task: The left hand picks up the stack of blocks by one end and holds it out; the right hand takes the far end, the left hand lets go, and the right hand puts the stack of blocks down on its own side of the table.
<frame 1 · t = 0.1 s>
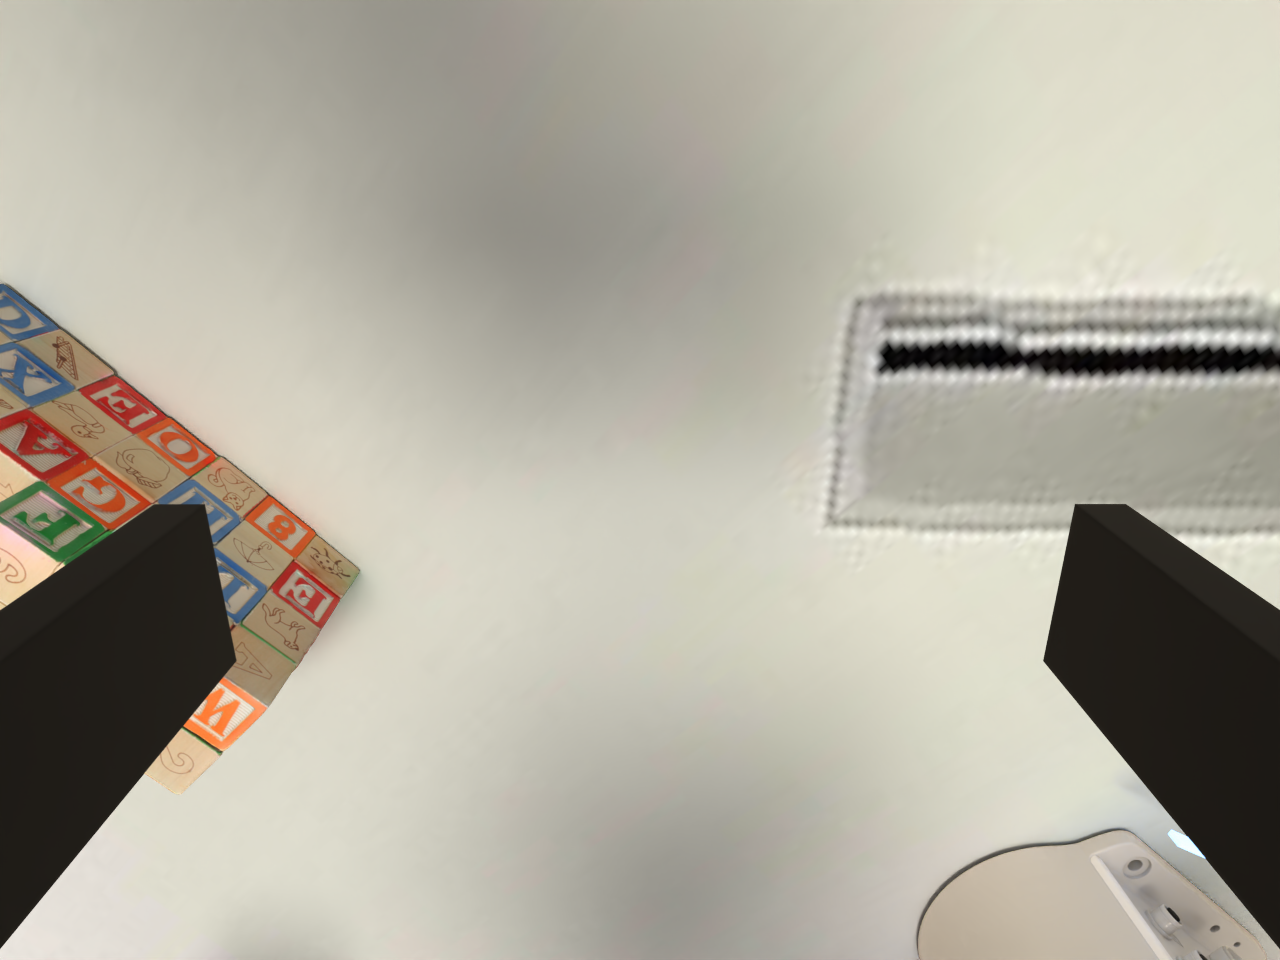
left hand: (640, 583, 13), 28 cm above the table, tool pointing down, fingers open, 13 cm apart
stack of blocks: (161, 475, 42), on the table
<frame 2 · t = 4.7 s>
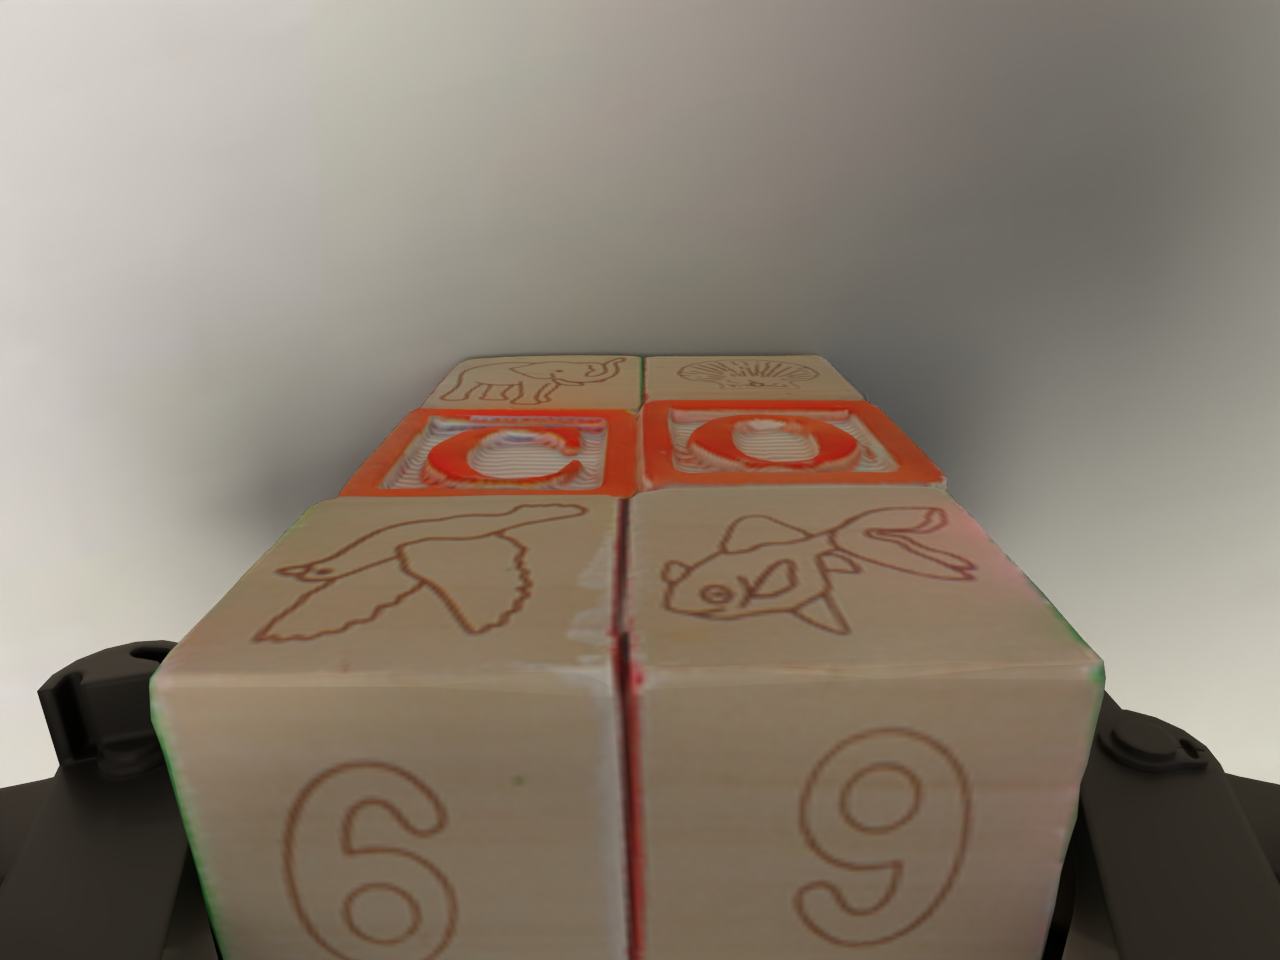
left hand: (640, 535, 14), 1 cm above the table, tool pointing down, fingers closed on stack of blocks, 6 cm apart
stack of blocks: (641, 846, 17), on the table, touching left hand
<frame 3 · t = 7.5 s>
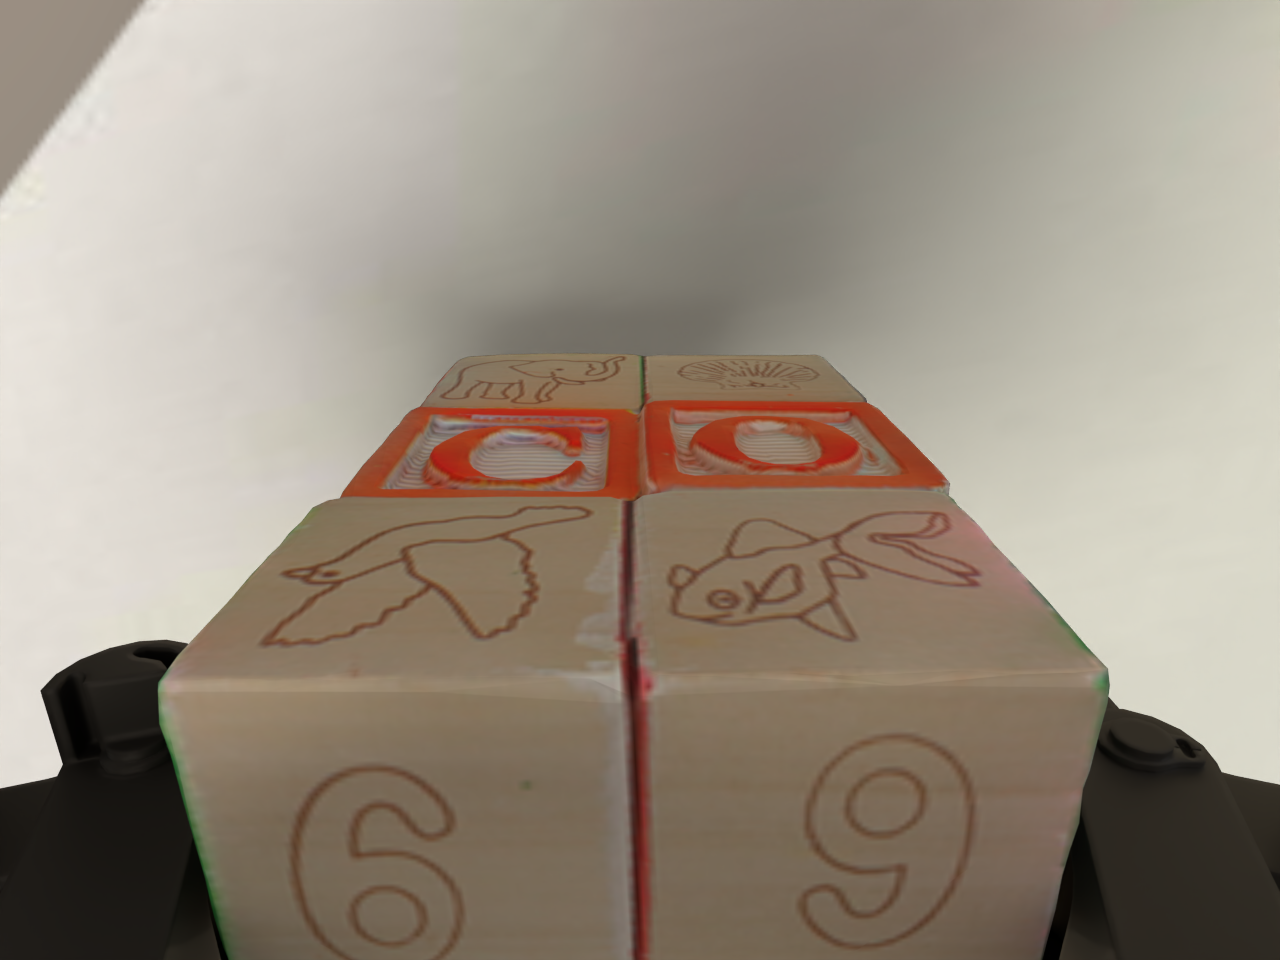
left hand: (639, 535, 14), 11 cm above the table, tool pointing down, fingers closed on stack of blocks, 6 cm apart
stack of blocks: (636, 842, 18), point 11 cm above the table, touching left hand
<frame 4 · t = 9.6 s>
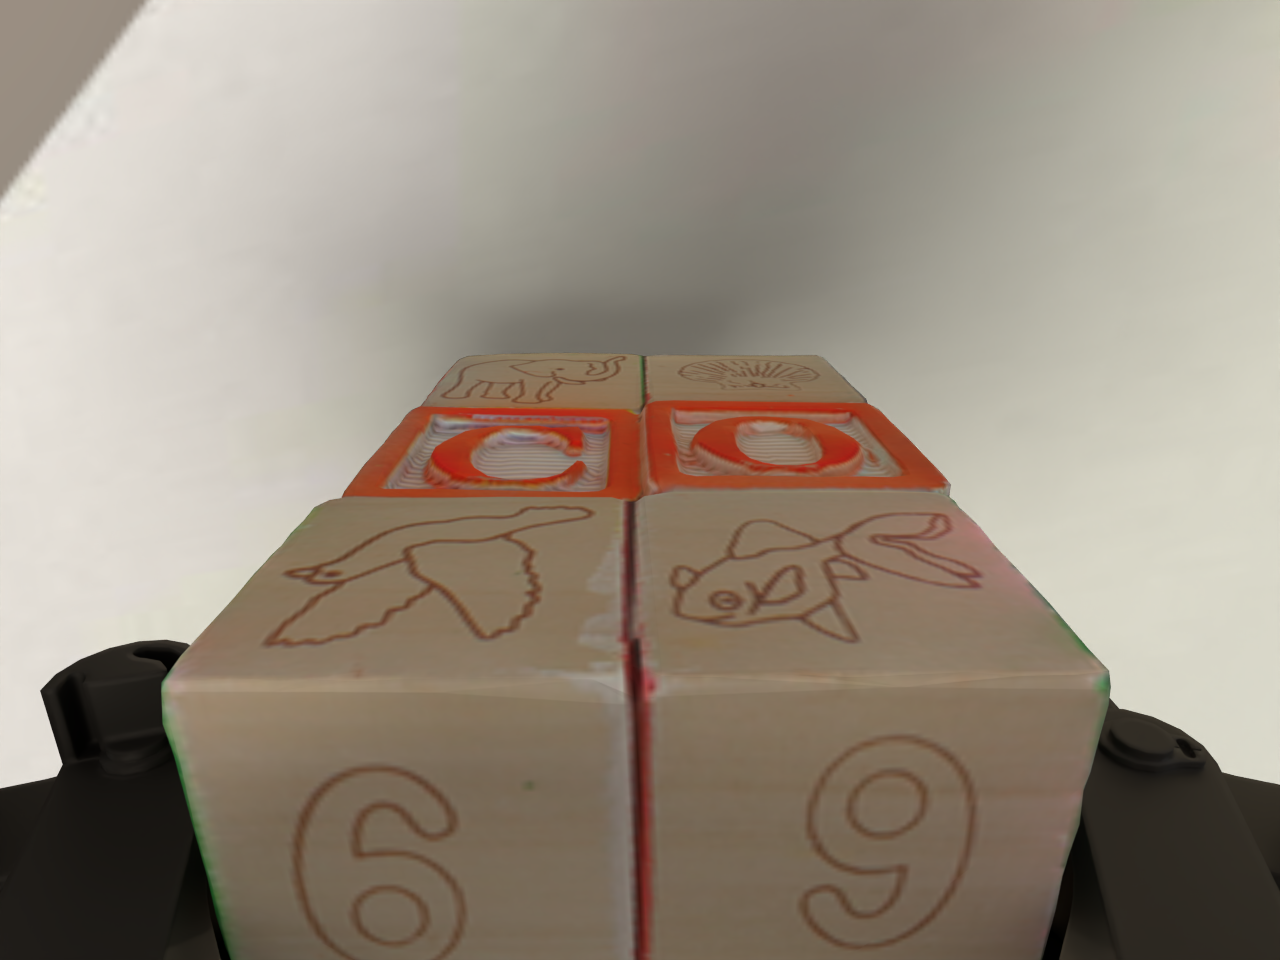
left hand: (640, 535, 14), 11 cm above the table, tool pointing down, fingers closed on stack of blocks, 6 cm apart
stack of blocks: (635, 841, 18), point 11 cm above the table, touching left hand, right hand
when the left hand's fingers open (11 cm above the table, at t = 10.6 s): stack of blocks stays where it is, held by the right hand.
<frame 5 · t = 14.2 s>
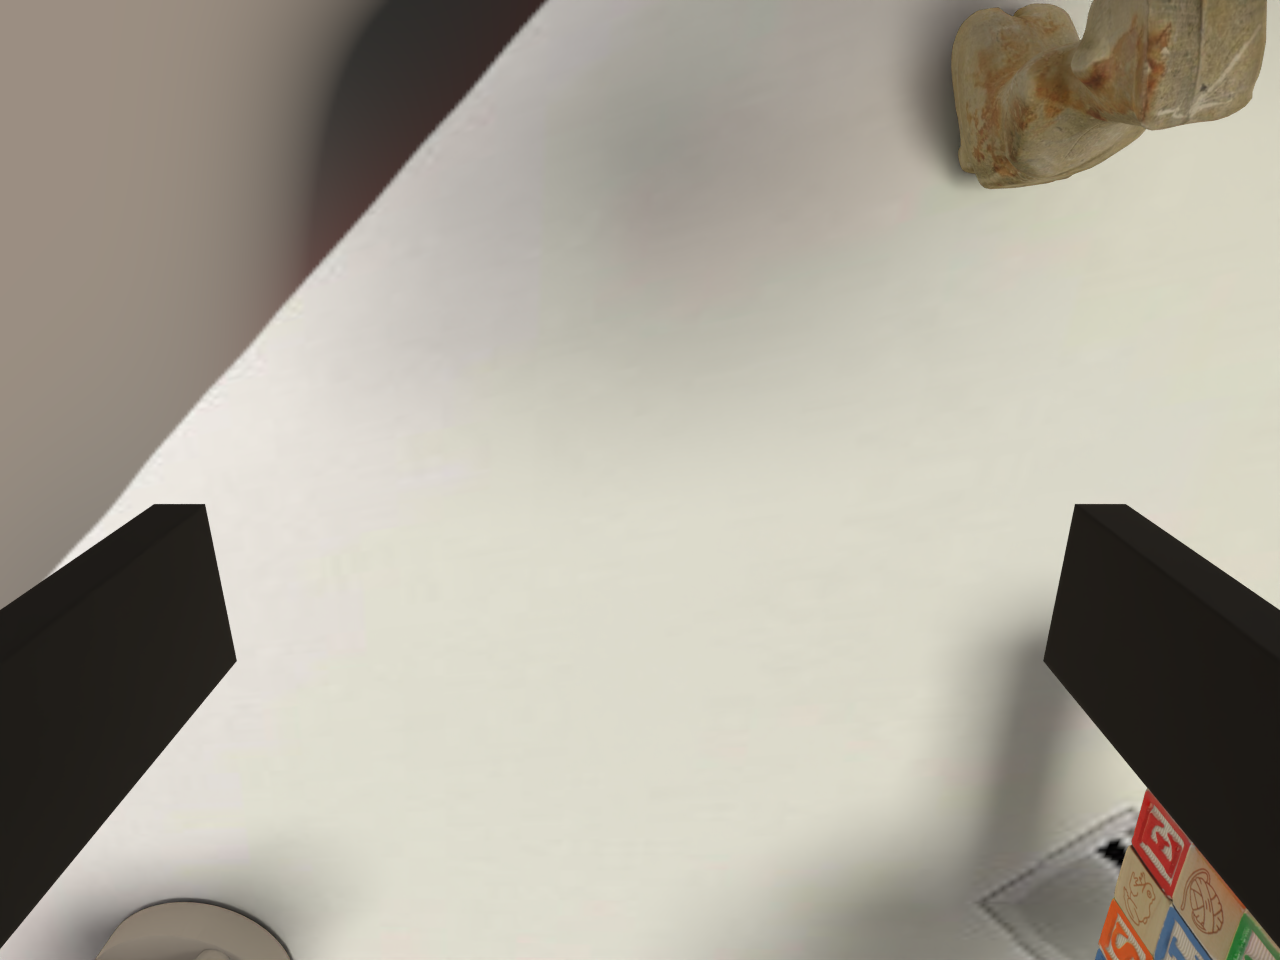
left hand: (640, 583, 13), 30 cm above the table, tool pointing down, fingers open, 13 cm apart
bust sculpture: (231, 935, 55), on the table
sculpture: (992, 102, 37), on the table
when the right hand's fingers open (8 cm above the table, at t = 18.7 s): stack of blocks stays where it is, on the table.
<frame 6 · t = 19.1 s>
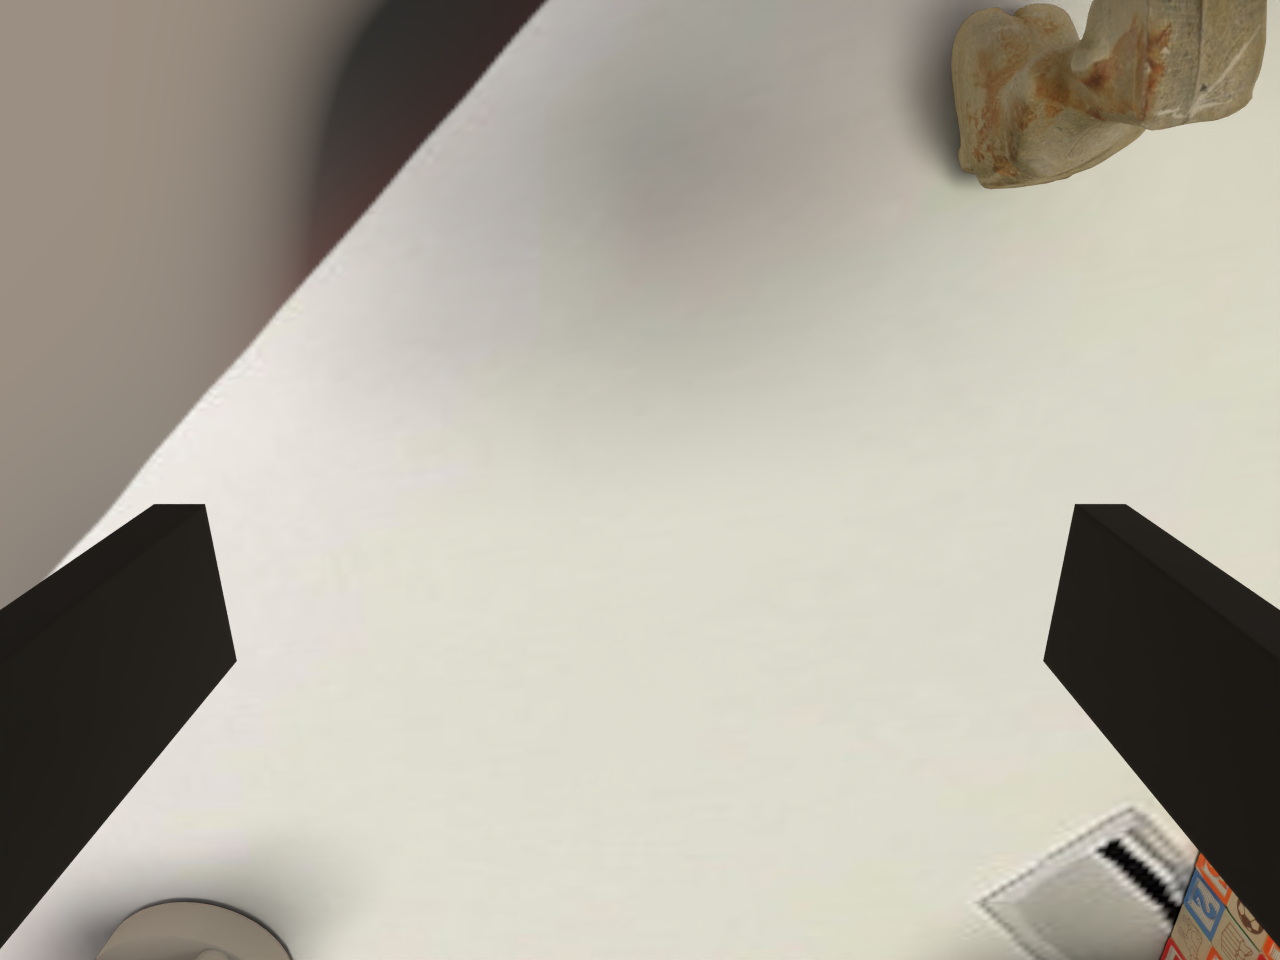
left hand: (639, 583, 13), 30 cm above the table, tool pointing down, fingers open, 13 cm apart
stack of blocks: (1232, 885, 54), on the table
bust sculpture: (231, 935, 55), on the table
sculpture: (992, 102, 37), on the table
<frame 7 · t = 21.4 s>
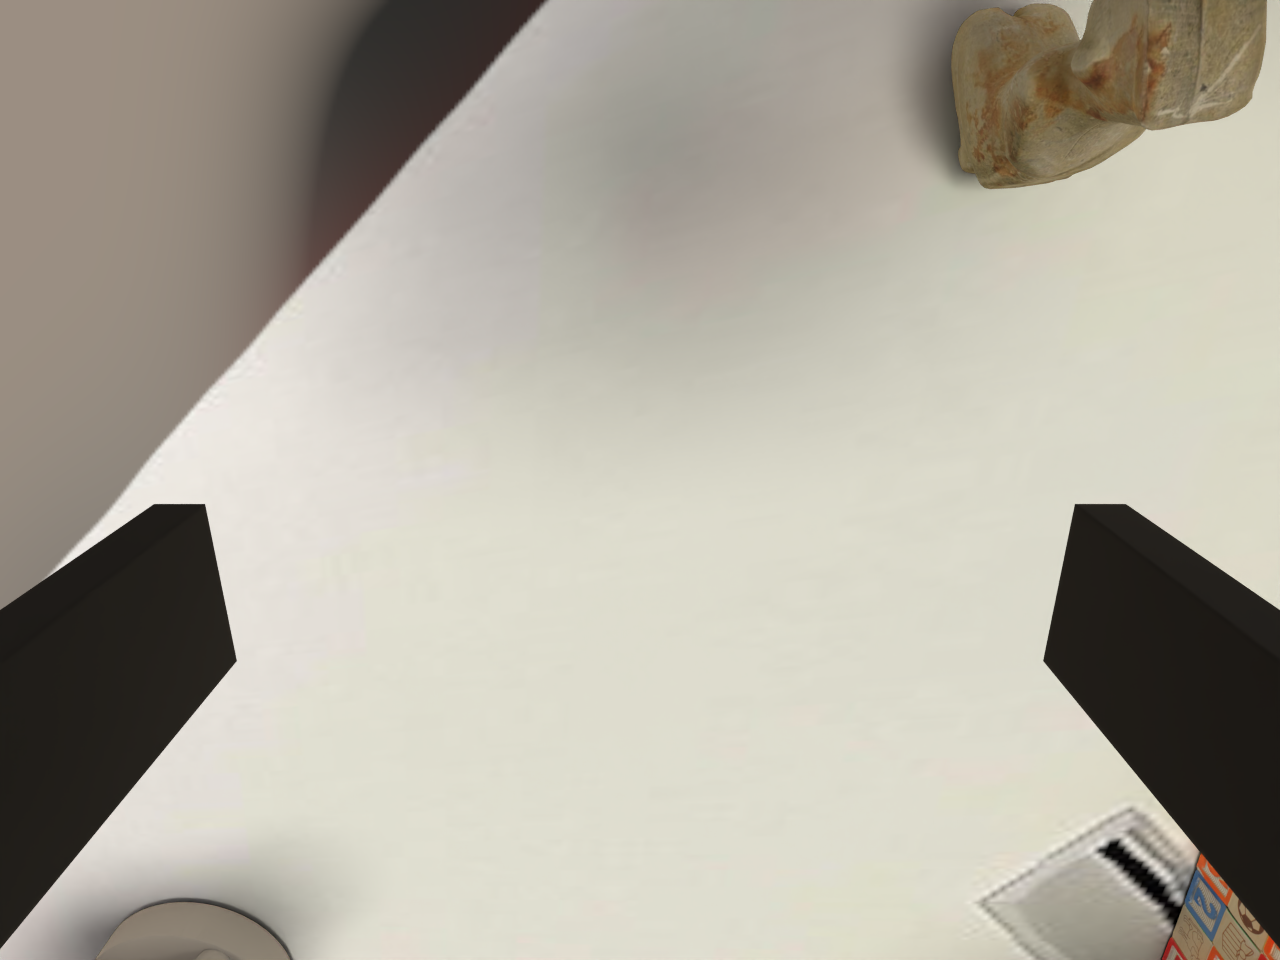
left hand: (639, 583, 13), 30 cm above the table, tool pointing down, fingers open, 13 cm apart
stack of blocks: (1233, 885, 54), on the table
bust sculpture: (231, 935, 55), on the table
sculpture: (992, 102, 37), on the table
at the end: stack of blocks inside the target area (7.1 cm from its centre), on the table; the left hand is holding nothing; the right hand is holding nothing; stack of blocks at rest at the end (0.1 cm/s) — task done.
